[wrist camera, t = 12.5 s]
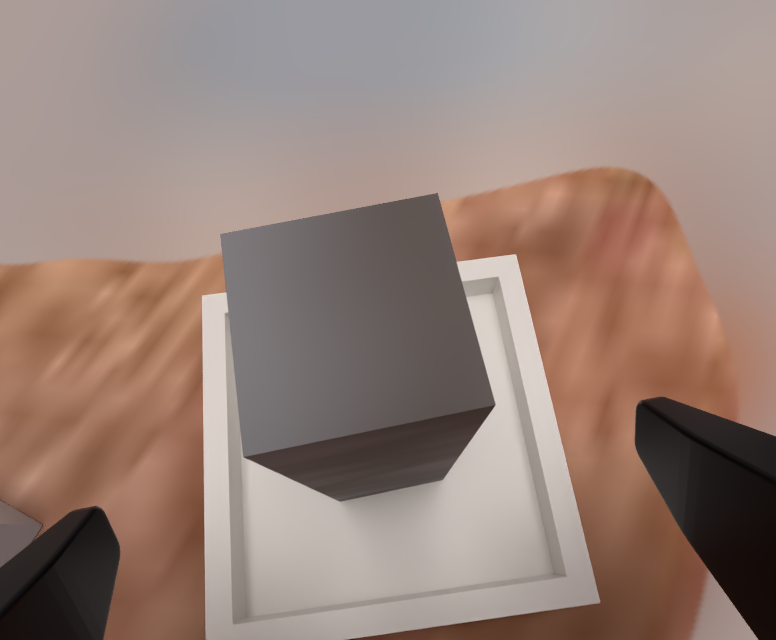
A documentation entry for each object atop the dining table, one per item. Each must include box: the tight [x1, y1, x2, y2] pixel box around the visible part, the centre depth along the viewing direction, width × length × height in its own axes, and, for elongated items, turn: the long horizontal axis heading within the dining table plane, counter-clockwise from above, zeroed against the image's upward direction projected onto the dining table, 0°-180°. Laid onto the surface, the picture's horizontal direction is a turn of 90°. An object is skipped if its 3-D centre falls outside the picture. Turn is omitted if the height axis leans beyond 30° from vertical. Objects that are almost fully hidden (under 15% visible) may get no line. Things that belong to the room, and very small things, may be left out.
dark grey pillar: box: [221, 193, 496, 502], centre depth 14 cm, size 4×4×12 cm
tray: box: [202, 254, 600, 640], centre depth 19 cm, size 12×12×2 cm
